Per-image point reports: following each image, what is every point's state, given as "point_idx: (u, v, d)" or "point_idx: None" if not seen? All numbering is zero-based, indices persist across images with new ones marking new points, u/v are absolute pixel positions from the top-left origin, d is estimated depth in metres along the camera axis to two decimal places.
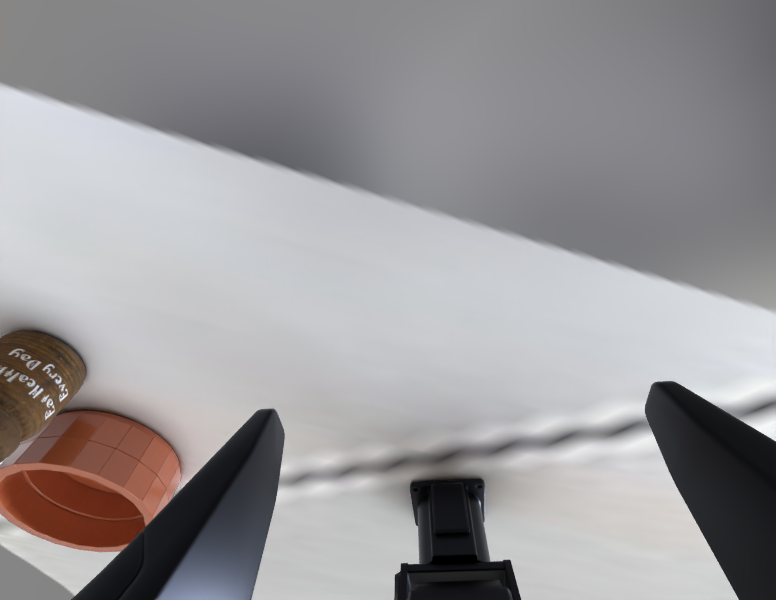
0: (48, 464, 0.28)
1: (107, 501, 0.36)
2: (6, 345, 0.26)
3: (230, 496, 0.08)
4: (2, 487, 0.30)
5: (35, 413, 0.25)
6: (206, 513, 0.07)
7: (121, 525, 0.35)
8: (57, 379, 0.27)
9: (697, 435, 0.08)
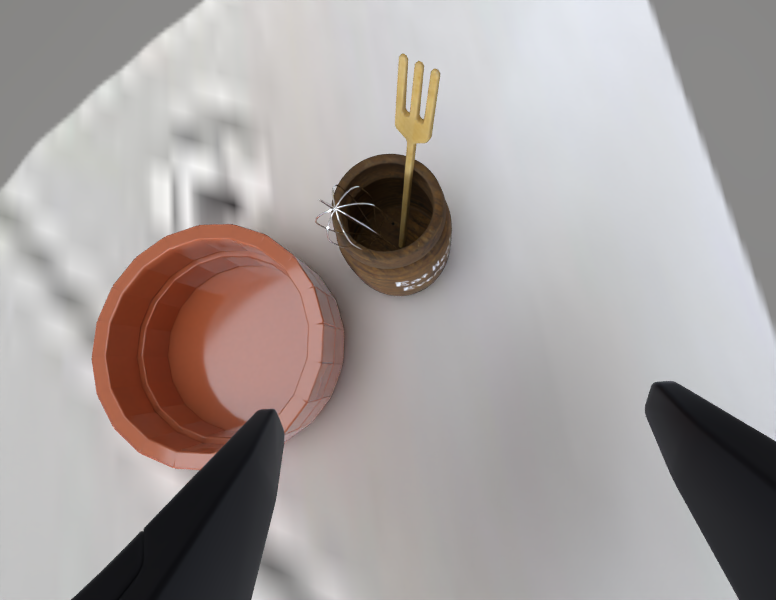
0: (316, 298, 0.19)
1: (160, 361, 0.24)
2: None
3: (230, 496, 0.08)
4: (216, 241, 0.21)
5: (416, 273, 0.19)
6: (206, 513, 0.07)
7: (145, 402, 0.22)
8: (431, 277, 0.22)
9: (697, 435, 0.08)
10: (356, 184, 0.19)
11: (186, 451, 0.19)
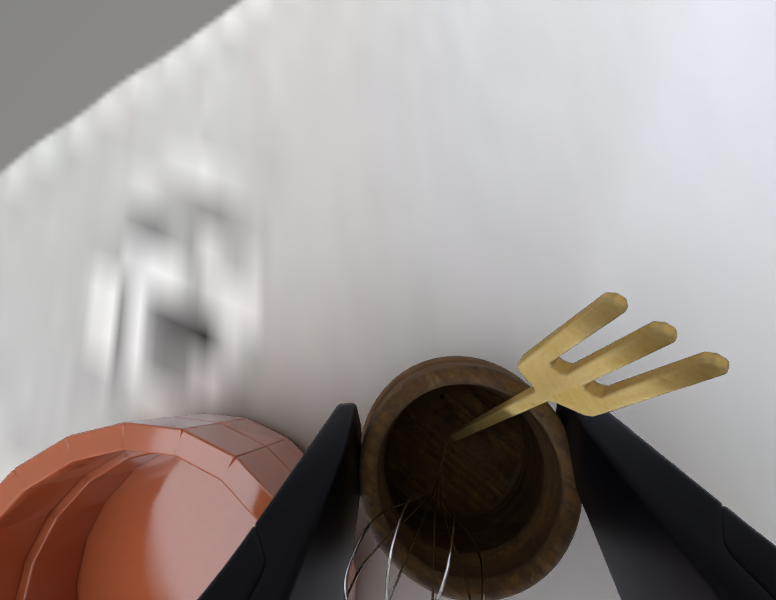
0: None
1: None
2: None
3: (333, 491, 0.08)
4: (153, 451, 0.12)
5: None
6: (316, 508, 0.07)
7: None
8: None
9: (587, 441, 0.08)
10: None
11: None
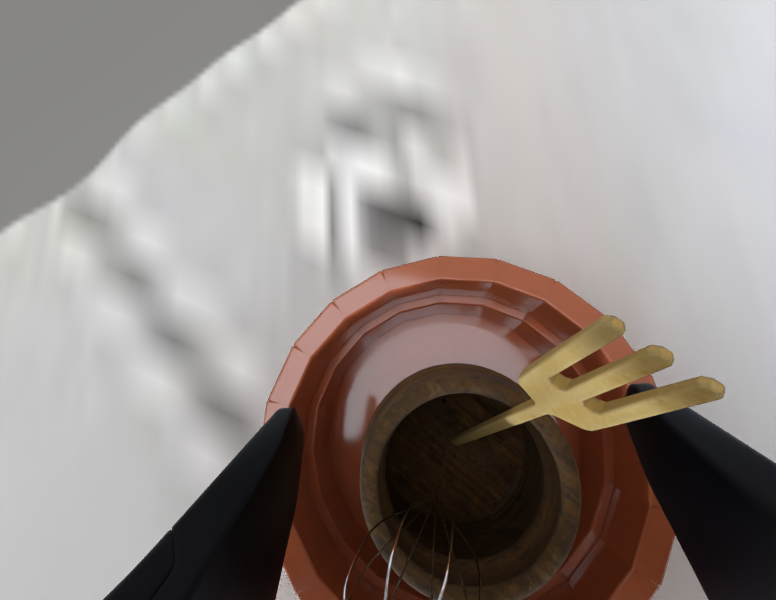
0: None
1: (325, 453, 0.16)
2: None
3: (256, 495, 0.08)
4: (462, 284, 0.13)
5: None
6: (234, 512, 0.07)
7: (323, 532, 0.13)
8: None
9: (669, 437, 0.08)
10: None
11: None
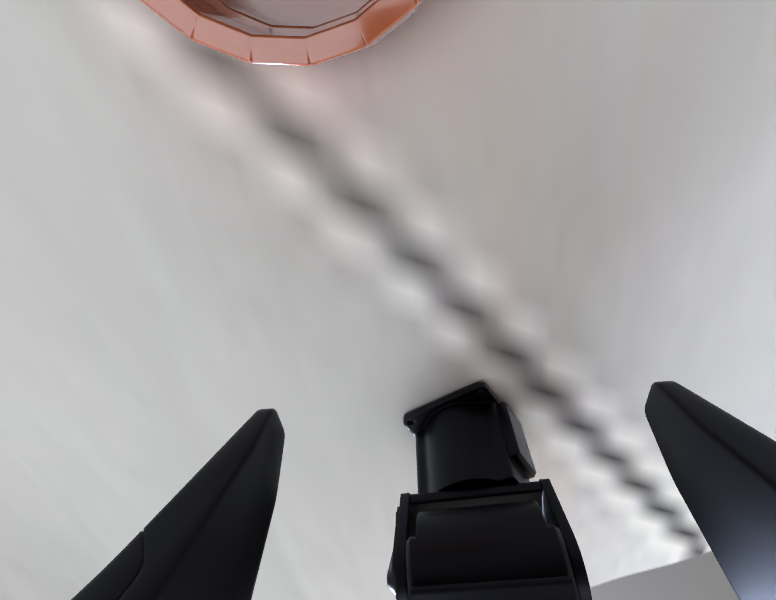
0: None
1: None
2: None
3: (230, 496, 0.08)
4: None
5: None
6: (206, 513, 0.07)
7: None
8: None
9: (697, 435, 0.08)
10: None
11: (264, 35, 0.13)
